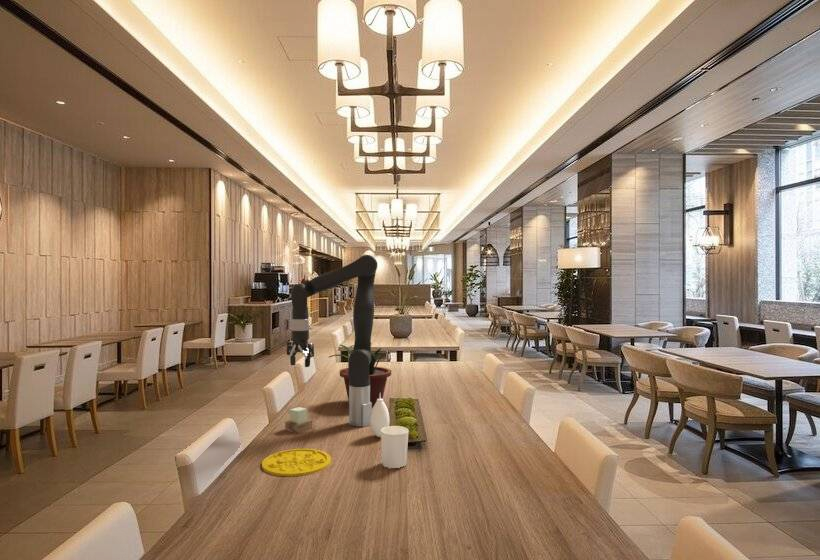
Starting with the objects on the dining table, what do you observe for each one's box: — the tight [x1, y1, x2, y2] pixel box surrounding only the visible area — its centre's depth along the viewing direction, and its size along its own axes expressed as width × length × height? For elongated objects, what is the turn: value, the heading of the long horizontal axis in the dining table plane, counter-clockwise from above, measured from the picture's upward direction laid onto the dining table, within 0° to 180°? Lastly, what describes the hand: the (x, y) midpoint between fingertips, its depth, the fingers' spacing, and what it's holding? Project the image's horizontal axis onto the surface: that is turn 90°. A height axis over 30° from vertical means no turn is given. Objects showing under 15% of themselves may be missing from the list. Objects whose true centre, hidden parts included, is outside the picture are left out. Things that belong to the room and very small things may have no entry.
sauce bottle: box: [369, 394, 390, 438], centre depth 198 cm, size 8×8×18 cm
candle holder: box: [380, 425, 410, 469], centre depth 168 cm, size 10×10×12 cm
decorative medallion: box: [261, 448, 332, 477], centre depth 169 cm, size 24×24×2 cm
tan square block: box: [284, 418, 314, 434], centre depth 207 cm, size 8×8×4 cm
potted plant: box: [328, 342, 392, 409], centre depth 249 cm, size 35×32×30 cm
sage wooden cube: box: [289, 406, 308, 423], centre depth 207 cm, size 5×5×5 cm
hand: (300, 366), depth 213 cm, fingers open, 8 cm apart
